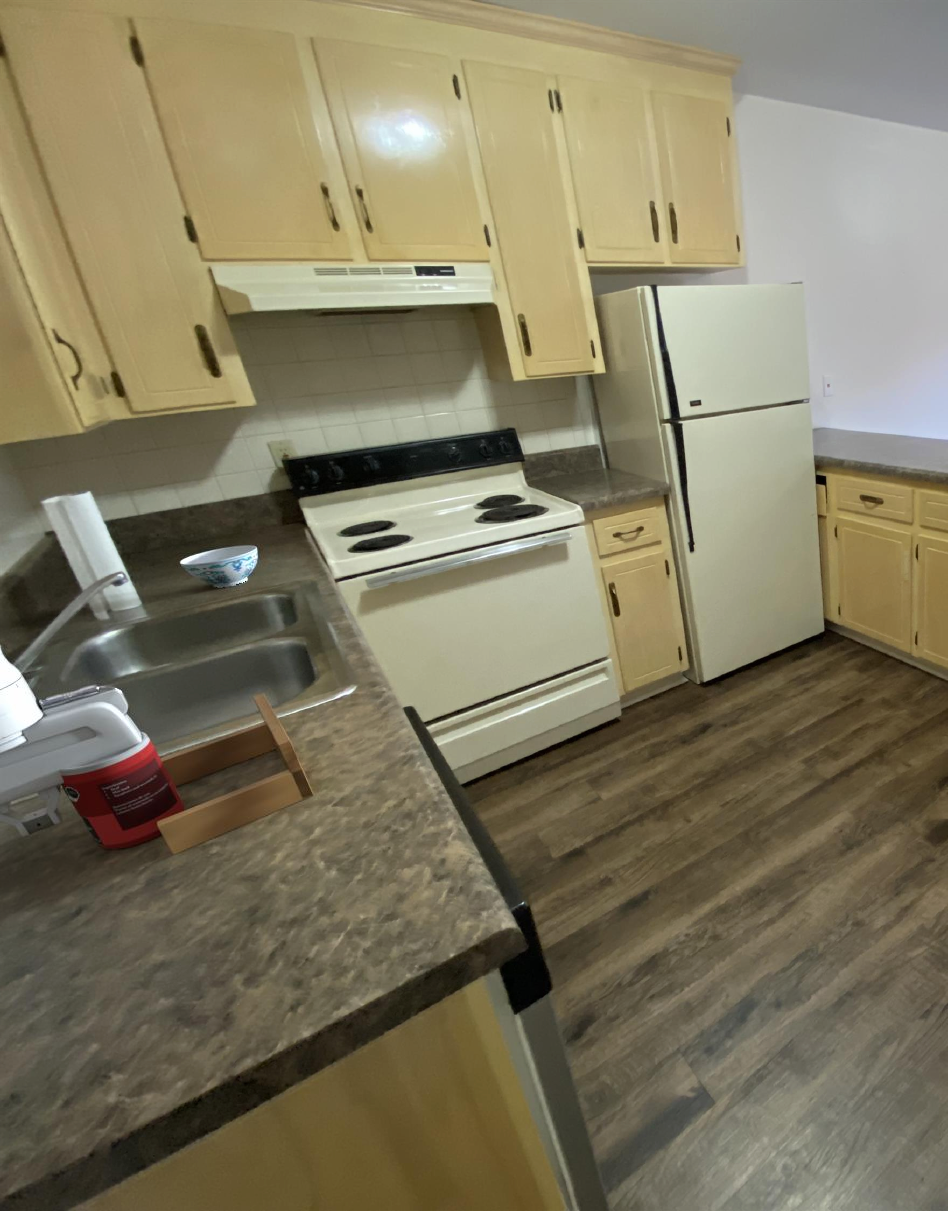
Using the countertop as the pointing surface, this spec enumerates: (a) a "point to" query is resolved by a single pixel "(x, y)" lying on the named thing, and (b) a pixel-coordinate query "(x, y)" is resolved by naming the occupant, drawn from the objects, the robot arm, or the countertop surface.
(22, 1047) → the countertop surface
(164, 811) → the canned food
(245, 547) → the chinaware
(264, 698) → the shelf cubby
